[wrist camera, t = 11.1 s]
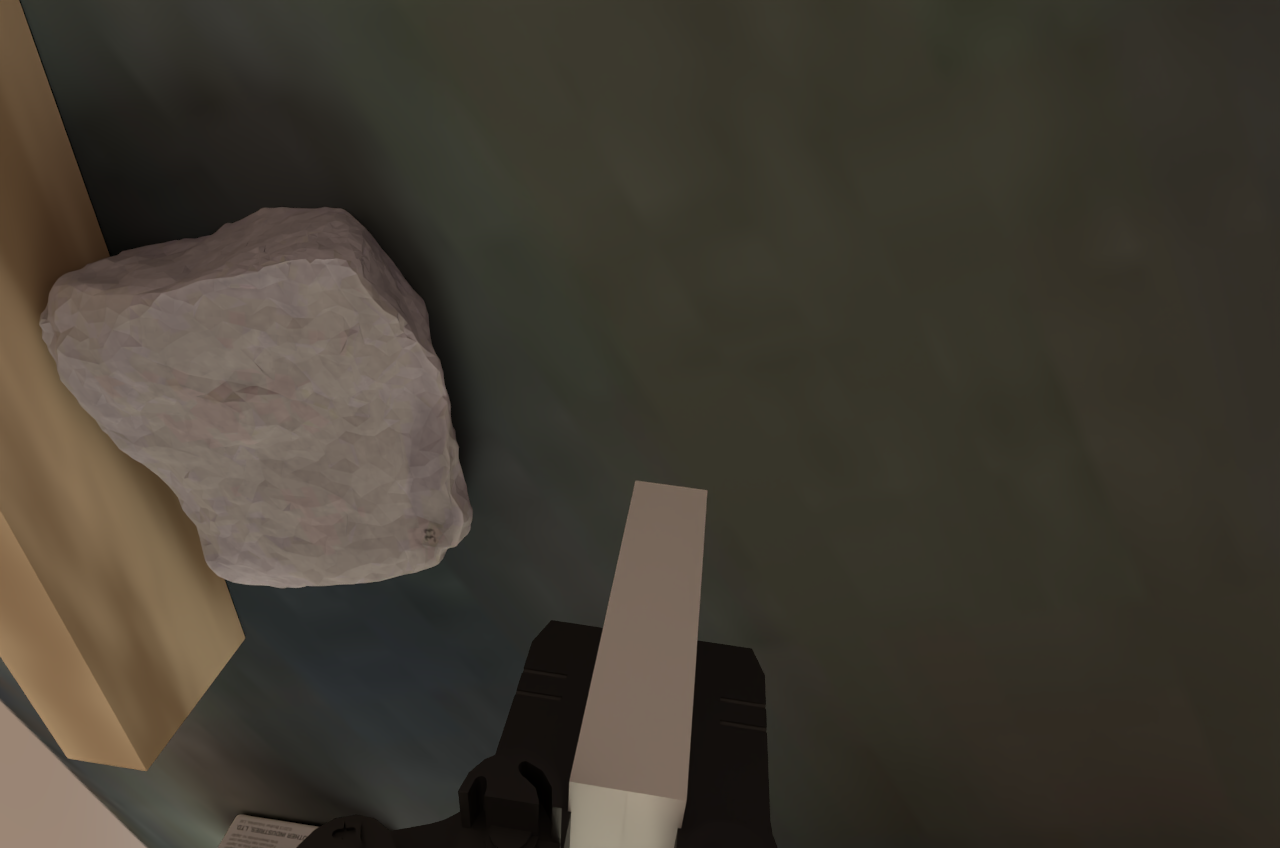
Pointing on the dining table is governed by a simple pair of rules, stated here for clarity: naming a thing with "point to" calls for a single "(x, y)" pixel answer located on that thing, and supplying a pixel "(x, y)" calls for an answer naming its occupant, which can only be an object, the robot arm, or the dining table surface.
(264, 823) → the ink cartridge box
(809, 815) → the dining table surface
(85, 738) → the oak board
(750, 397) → the dining table surface
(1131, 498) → the dining table surface
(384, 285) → the stone block
